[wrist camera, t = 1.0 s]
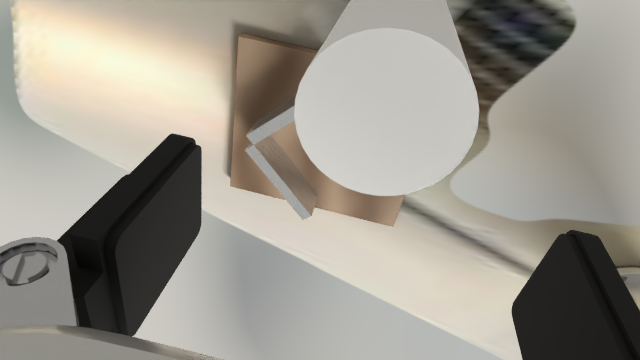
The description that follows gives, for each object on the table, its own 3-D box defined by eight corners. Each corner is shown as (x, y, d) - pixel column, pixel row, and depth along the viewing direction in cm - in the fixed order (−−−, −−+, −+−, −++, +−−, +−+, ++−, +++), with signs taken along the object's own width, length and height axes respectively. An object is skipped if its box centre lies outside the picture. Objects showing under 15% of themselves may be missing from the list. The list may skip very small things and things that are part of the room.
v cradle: (443, 79, 40) (447, 100, 36) (393, 220, 50) (391, 250, 46) (242, 33, 41) (222, 48, 37) (233, 180, 51) (217, 205, 47)
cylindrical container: (343, -14, 37) (258, 90, 17) (417, -66, 34) (424, -16, 14) (384, 55, 40) (353, 218, 19) (455, 12, 37) (510, 153, 16)
